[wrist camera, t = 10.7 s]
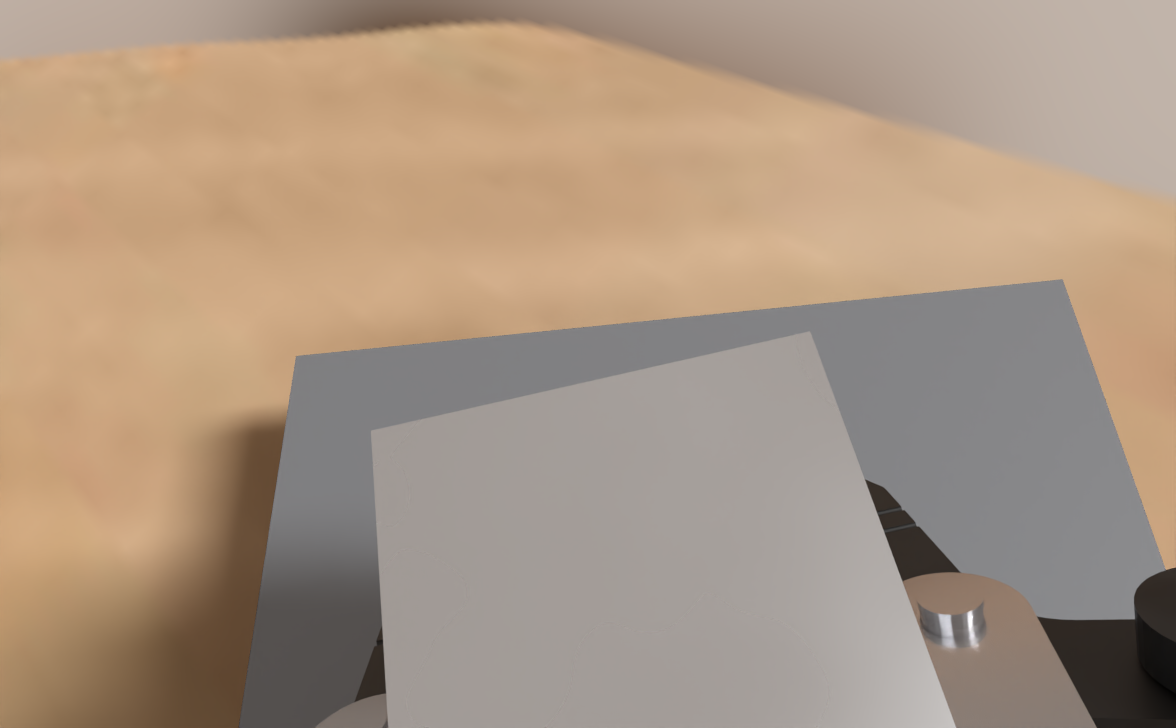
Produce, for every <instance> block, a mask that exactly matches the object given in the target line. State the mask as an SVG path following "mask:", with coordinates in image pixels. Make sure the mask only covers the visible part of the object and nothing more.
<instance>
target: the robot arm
mask: <svg viewBox="0 0 1176 728" xmlns="http://www.w3.org/2000/svg"><path fill="white" fill-rule="evenodd" d="M865 481H866V484H867V487H868V490H869V492H870V495H871V498H872V500H873V503H874V506H875V509H876V511H877V514H878V517H879V519H880V522H881V525H882V528H883V530H884V533H885V536H886V538H887V541H888V544H889V547H890V549H891V552H892V555H893V557H894V560H895V563H896V566H897V568H898V571H899V574H900V576H901V579H902V582H903V585H904V587H905V590H906V593H907V596H908V598H909V601H910V604H911V606H912V609H913V612H914V615H915V617H916V620H917V623H918V625H919V628H920V631H921V634H922V636H923V639H924V642H925V644H926V647H927V650H928V653H929V655H930V658H931V661H932V663H933V666H934V669H935V672H936V674H937V677H938V680H939V682H940V685H941V688H942V691H943V693H944V696H945V699H946V701H947V704H948V707H949V710H950V712H951V715H952V718H953V720H954V723H955V726H956V728H1176V568H1172V569H1169V570H1165V571H1162V572H1159V573H1157V574H1155V575H1153V576H1150V577H1149V578H1147V579H1146V580H1145V581H1143V582H1142V583H1141V584H1140V585H1139V587H1138V588H1137V590H1136V592H1135V595H1134V612H1135V619H1116V620H1062V619H1052V618H1043V617H1038V616H1036V614H1035V612H1034V610H1033V609H1032V607H1031V605H1030V604H1029V602H1028V601H1027V599H1026V598H1025V597H1024V596H1023V595H1022V594H1020V593H1019V592H1018V591H1017V590H1015V589H1014V588H1012V587H1010V586H1009V585H1007V584H1004V583H1002V582H1000V581H998V580H994V579H991V578H988V577H984V576H980V575H975V574H968V573H961V572H960V571H959V570H958V569H957V568H956V567H955V565H954V564H953V563H952V562H951V561H950V560H949V559H948V558H947V557H946V555H945V554H944V553H943V552H942V551H941V550H940V549H939V548H938V547H937V545H936V544H935V543H934V542H933V541H932V540H931V539H930V538H929V537H928V535H927V534H926V533H925V532H924V531H923V530H922V529H921V528H920V527H919V526H918V527H917V526H916V522H915V521H914V520H913V519H912V518H911V517H910V515H909V514H908V513H907V512H906V511H905V510H903V511H902V508H901V505H900V504H899V503H898V502H897V501H896V500H895V499H894V498H893V497H892V495H891V494H890V493H889V492H888V491H887V490H886V489H885V488H884V487H882V486H880V485H877V484H875V483H873V482H870V481H868V480H865ZM376 642H377V646H374V649H373V651H372V654H371V657H370V660H369V663H368V665H367V668H366V671H365V674H364V676H363V679H362V682H361V685H360V688H359V690H358V693H357V696H356V699H355V701H354V703H352V704H350V705H348V706H346V707H344V708H342V709H340V710H338V711H337V712H335V713H333V714H332V715H330V716H329V717H327V718H326V719H325V720H323V721H322V722H321V723H319V724H318V725H317V726H316V727H315V728H388V716H387V699H386V681H385V664H384V647H383V630H382V626H381V629H380V632H379V635H378V637H377V640H376Z"/></svg>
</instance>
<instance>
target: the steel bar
mask: <svg viewBox="0 0 1176 728" xmlns="http://www.w3.org/2000/svg"><path fill="white" fill-rule="evenodd" d="M371 442H372V459H373V476H374V493H375V510H376V527H377V544H378V562H379V579H380V596H381V613H382V630H383V647H384V664H385V681H386V699H387V716H388V728H956V726H955V723H954V720H953V718H952V715H951V712H950V710H949V707H948V704H947V701H946V699H945V696H944V693H943V691H942V688H941V685H940V682H939V680H938V677H937V674H936V672H935V669H934V666H933V663H932V661H931V658H930V655H929V653H928V650H927V647H926V644H925V642H924V639H923V636H922V634H921V631H920V628H919V625H918V623H917V620H916V617H915V615H914V612H913V609H912V606H911V604H910V601H909V598H908V596H907V593H906V590H905V587H904V585H903V582H902V579H901V576H900V574H899V571H898V568H897V566H896V563H895V560H894V557H893V555H892V552H891V549H890V547H889V544H888V541H887V538H886V536H885V533H884V530H883V528H882V525H881V522H880V519H879V517H878V514H877V511H876V509H875V506H874V503H873V500H872V498H871V495H870V492H869V490H868V487H867V484H866V481H865V479H864V476H863V473H862V471H861V468H860V465H859V462H858V460H857V457H856V454H855V452H854V449H853V446H852V443H851V441H850V438H849V435H848V433H847V430H846V427H845V424H844V422H843V419H842V416H841V414H840V411H839V408H838V405H837V403H836V400H835V397H834V395H833V392H832V389H831V386H830V384H829V381H828V378H827V376H826V373H825V370H824V367H823V365H822V362H821V359H820V357H819V354H818V351H817V348H816V346H815V343H814V340H813V337H812V335H811V332H810V331H809V332H805V333H800V334H796V335H791V336H787V337H783V338H778V339H774V340H769V341H765V342H760V343H756V344H752V345H747V346H743V347H738V348H734V349H730V350H725V351H721V352H716V353H712V354H707V355H703V356H699V357H694V358H690V359H685V360H681V361H677V362H672V363H668V364H663V365H659V366H654V367H650V368H646V369H641V370H637V371H632V372H628V373H624V374H619V375H615V376H610V377H606V378H601V379H597V380H593V381H588V382H584V383H579V384H575V385H571V386H566V387H562V388H557V389H553V390H548V391H544V392H540V393H535V394H531V395H526V396H522V397H518V398H513V399H509V400H504V401H500V402H495V403H491V404H487V405H482V406H478V407H473V408H469V409H465V410H460V411H456V412H451V413H447V414H442V415H438V416H434V417H429V418H425V419H420V420H416V421H412V422H407V423H403V424H398V425H394V426H389V427H385V428H381V429H376V430H372V431H371Z"/></svg>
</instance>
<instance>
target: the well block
mask: <svg viewBox="0 0 1176 728" xmlns="http://www.w3.org/2000/svg"><path fill="white" fill-rule="evenodd" d="M809 331H810V332H811V335H812V337H813V340H814V343H815V346H816V348H817V351H818V354H819V357H820V359H821V362H822V365H823V367H824V370H825V373H826V376H827V378H828V381H829V384H830V386H831V389H832V392H833V395H834V397H835V400H836V403H837V405H838V408H839V411H840V414H841V416H842V419H843V422H844V424H845V427H846V430H847V433H848V435H849V438H850V441H851V443H852V446H853V449H854V452H855V454H856V457H857V460H858V462H859V465H860V468H861V471H862V473H863V476H864V479H865V480H868V481H870V482H873V483H875V484H877V485H880V486H882V487H884V488H885V489H886V490H887V491H888V492H889V493H890V494H891V495H892V497H893V498H894V499H895V500H896V501H897V502H898V503H899V504H900V505H901V508H902V511H903V510H905V511H906V512H907V513H908V514H909V515H910V517H911V518H912V519H913V520H914V521H915V522H916V526H917V527H918V526H919V527H920V528H921V529H922V530H923V531H924V532H925V533H926V534H927V535H928V537H929V538H930V539H931V540H932V541H933V542H934V543H935V544H936V545H937V547H938V548H939V549H940V550H941V551H942V552H943V553H944V554H945V555H946V557H947V558H948V559H949V560H950V561H951V562H952V563H953V564H954V565H955V567H956V568H957V569H958V570H959V571H960V572H961V573H968V574H975V575H980V576H984V577H988V578H991V579H994V580H998V581H1000V582H1002V583H1004V584H1007V585H1009V586H1010V587H1012V588H1014V589H1015V590H1017V591H1018V592H1019V593H1020V594H1022V595H1023V596H1024V597H1025V598H1026V599H1027V601H1028V602H1029V604H1030V605H1031V607H1032V609H1033V610H1034V612H1035V614H1036V616H1038V617H1043V618H1052V619H1062V620H1116V619H1135V612H1134V595H1135V592H1136V590H1137V588H1138V587H1139V585H1140V584H1141V583H1142V582H1143V581H1145V580H1146V579H1147V578H1149V577H1150V576H1153V575H1155V574H1157V573H1159V572H1162V571H1165V570H1166V569H1165V566H1164V564H1163V561H1162V558H1161V555H1160V552H1159V549H1158V547H1157V544H1156V541H1155V538H1154V535H1153V533H1152V530H1151V527H1150V524H1149V521H1148V519H1147V516H1146V513H1145V510H1144V507H1143V504H1142V502H1141V499H1140V496H1139V493H1138V490H1137V488H1136V485H1135V482H1134V479H1133V476H1132V474H1131V471H1130V468H1129V465H1128V462H1127V459H1126V457H1125V454H1124V451H1123V448H1122V445H1121V443H1120V440H1119V437H1118V434H1117V431H1116V429H1115V426H1114V423H1113V420H1112V417H1111V414H1110V412H1109V409H1108V406H1107V403H1106V400H1105V398H1104V395H1103V392H1102V389H1101V386H1100V384H1099V381H1098V378H1097V375H1096V372H1095V369H1094V367H1093V364H1092V361H1091V358H1090V355H1089V353H1088V350H1087V347H1086V344H1085V341H1084V339H1083V336H1082V333H1081V330H1080V327H1079V324H1078V322H1077V319H1076V316H1075V313H1074V310H1073V308H1072V305H1071V302H1070V299H1069V296H1068V294H1067V291H1066V288H1065V285H1064V282H1063V280H1053V281H1043V282H1033V283H1023V284H1013V285H1003V286H993V287H983V288H973V289H963V290H953V291H943V292H933V293H923V294H913V295H903V296H893V297H883V298H873V299H863V300H853V301H843V302H833V303H823V304H813V305H803V306H793V307H783V308H773V309H763V310H753V311H743V312H733V313H723V314H713V315H703V316H693V317H683V318H673V319H663V320H653V321H643V322H633V323H623V324H613V325H603V326H593V327H583V328H573V329H563V330H553V331H543V332H533V333H522V334H512V335H502V336H492V337H482V338H472V339H462V340H452V341H442V342H432V343H422V344H412V345H402V346H392V347H382V348H372V349H362V350H352V351H342V352H332V353H322V354H312V355H302V356H296V360H295V367H294V373H293V380H292V386H291V393H290V399H289V406H288V412H287V419H286V425H285V431H284V438H283V444H282V451H281V457H280V464H279V470H278V477H277V483H276V490H275V496H274V502H273V509H272V515H271V522H270V528H269V535H268V541H267V548H266V554H265V561H264V567H263V573H262V580H261V586H260V593H259V599H258V606H257V612H256V619H255V625H254V632H253V638H252V644H251V651H250V657H249V664H248V670H247V677H246V683H245V690H244V696H243V703H242V709H241V715H240V722H239V728H315V727H316V726H317V725H318V724H319V723H321V722H322V721H323V720H325V719H326V718H327V717H329V716H330V715H332V714H333V713H335V712H337V711H338V710H340V709H342V708H344V707H346V706H348V705H350V704H352V703H354V701H355V699H356V696H357V693H358V690H359V688H360V685H361V682H362V679H363V676H364V674H365V671H366V668H367V665H368V663H369V660H370V657H371V654H372V651H373V649H374V646H377V642H376V640H377V637H378V635H379V632H380V629H381V626H382V613H381V596H380V579H379V562H378V544H377V527H376V510H375V493H374V476H373V459H372V442H371V431H372V430H376V429H381V428H385V427H389V426H394V425H398V424H403V423H407V422H412V421H416V420H420V419H425V418H429V417H434V416H438V415H442V414H447V413H451V412H456V411H460V410H465V409H469V408H473V407H478V406H482V405H487V404H491V403H495V402H500V401H504V400H509V399H513V398H518V397H522V396H526V395H531V394H535V393H540V392H544V391H548V390H553V389H557V388H562V387H566V386H571V385H575V384H579V383H584V382H588V381H593V380H597V379H601V378H606V377H610V376H615V375H619V374H624V373H628V372H632V371H637V370H641V369H646V368H650V367H654V366H659V365H663V364H668V363H672V362H677V361H681V360H685V359H690V358H694V357H699V356H703V355H707V354H712V353H716V352H721V351H725V350H730V349H734V348H738V347H743V346H747V345H752V344H756V343H760V342H765V341H769V340H774V339H778V338H783V337H787V336H791V335H796V334H800V333H805V332H809Z"/></svg>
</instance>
